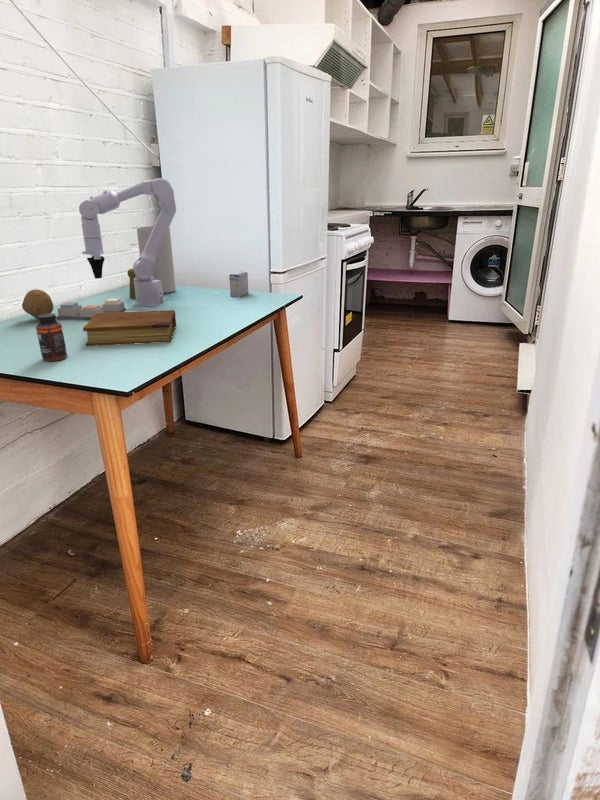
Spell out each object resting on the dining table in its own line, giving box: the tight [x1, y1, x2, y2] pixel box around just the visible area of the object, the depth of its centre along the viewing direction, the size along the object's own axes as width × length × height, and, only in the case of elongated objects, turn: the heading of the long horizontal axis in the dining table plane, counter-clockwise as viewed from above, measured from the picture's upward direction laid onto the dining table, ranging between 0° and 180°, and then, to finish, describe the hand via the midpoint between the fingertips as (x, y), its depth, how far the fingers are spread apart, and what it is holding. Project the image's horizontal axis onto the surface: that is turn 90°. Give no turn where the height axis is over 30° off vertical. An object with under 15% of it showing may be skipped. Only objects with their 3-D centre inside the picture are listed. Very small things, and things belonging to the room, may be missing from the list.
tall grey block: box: [136, 225, 176, 294], centre depth 215 cm, size 12×12×25 cm
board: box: [56, 300, 127, 321], centre depth 182 cm, size 18×14×3 cm
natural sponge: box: [21, 288, 54, 320], centre depth 174 cm, size 9×9×10 cm
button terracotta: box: [82, 304, 101, 310], centre depth 178 cm, size 4×4×2 cm
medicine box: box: [228, 270, 249, 298], centre depth 210 cm, size 8×4×9 cm, turn 162°
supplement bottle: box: [35, 312, 68, 362], centre depth 135 cm, size 6×6×11 cm
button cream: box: [104, 298, 122, 304], centre depth 184 cm, size 4×4×2 cm
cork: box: [127, 268, 136, 300], centre depth 207 cm, size 6×6×11 cm
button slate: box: [59, 301, 79, 309], centre depth 179 cm, size 4×4×2 cm
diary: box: [82, 309, 177, 347], centre depth 157 cm, size 23×19×6 cm
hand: (98, 278), depth 189 cm, fingers closed
